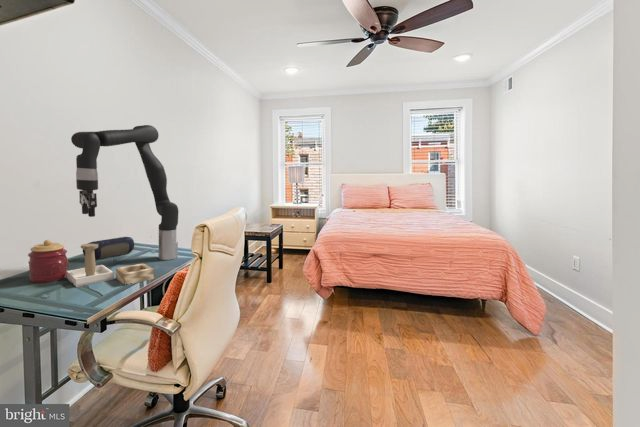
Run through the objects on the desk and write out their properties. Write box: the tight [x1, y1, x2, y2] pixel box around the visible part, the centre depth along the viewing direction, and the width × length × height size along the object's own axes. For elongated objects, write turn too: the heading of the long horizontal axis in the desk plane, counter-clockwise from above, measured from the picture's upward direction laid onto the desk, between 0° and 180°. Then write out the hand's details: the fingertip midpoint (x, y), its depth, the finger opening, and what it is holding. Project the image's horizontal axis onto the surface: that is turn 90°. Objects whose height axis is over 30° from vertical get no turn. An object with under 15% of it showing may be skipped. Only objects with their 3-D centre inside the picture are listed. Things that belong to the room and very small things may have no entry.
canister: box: [27, 239, 69, 284], centre depth 134 cm, size 13×13×18 cm
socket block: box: [115, 263, 155, 286], centre depth 142 cm, size 12×11×5 cm
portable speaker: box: [82, 236, 135, 261], centre depth 171 cm, size 25×10×10 cm, turn 153°
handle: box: [80, 243, 98, 277], centre depth 137 cm, size 5×6×15 cm
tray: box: [66, 264, 115, 288], centre depth 138 cm, size 14×14×4 cm
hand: (88, 215), depth 134 cm, fingers open, 8 cm apart
